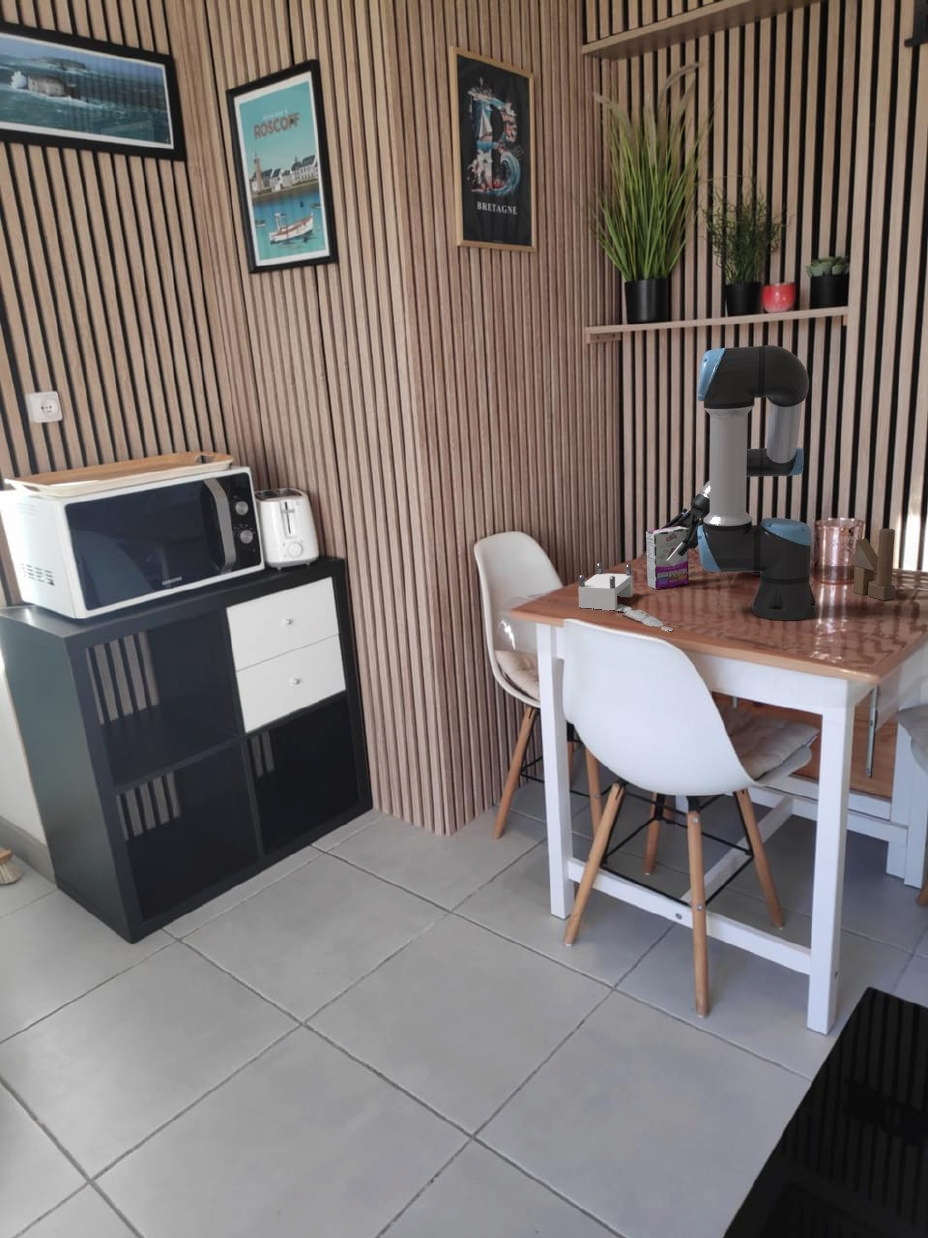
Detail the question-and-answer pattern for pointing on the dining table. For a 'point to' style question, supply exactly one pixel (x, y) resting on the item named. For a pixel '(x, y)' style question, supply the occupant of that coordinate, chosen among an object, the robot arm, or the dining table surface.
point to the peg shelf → (604, 589)
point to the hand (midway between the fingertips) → (660, 558)
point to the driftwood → (641, 617)
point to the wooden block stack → (875, 567)
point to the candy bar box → (657, 554)
